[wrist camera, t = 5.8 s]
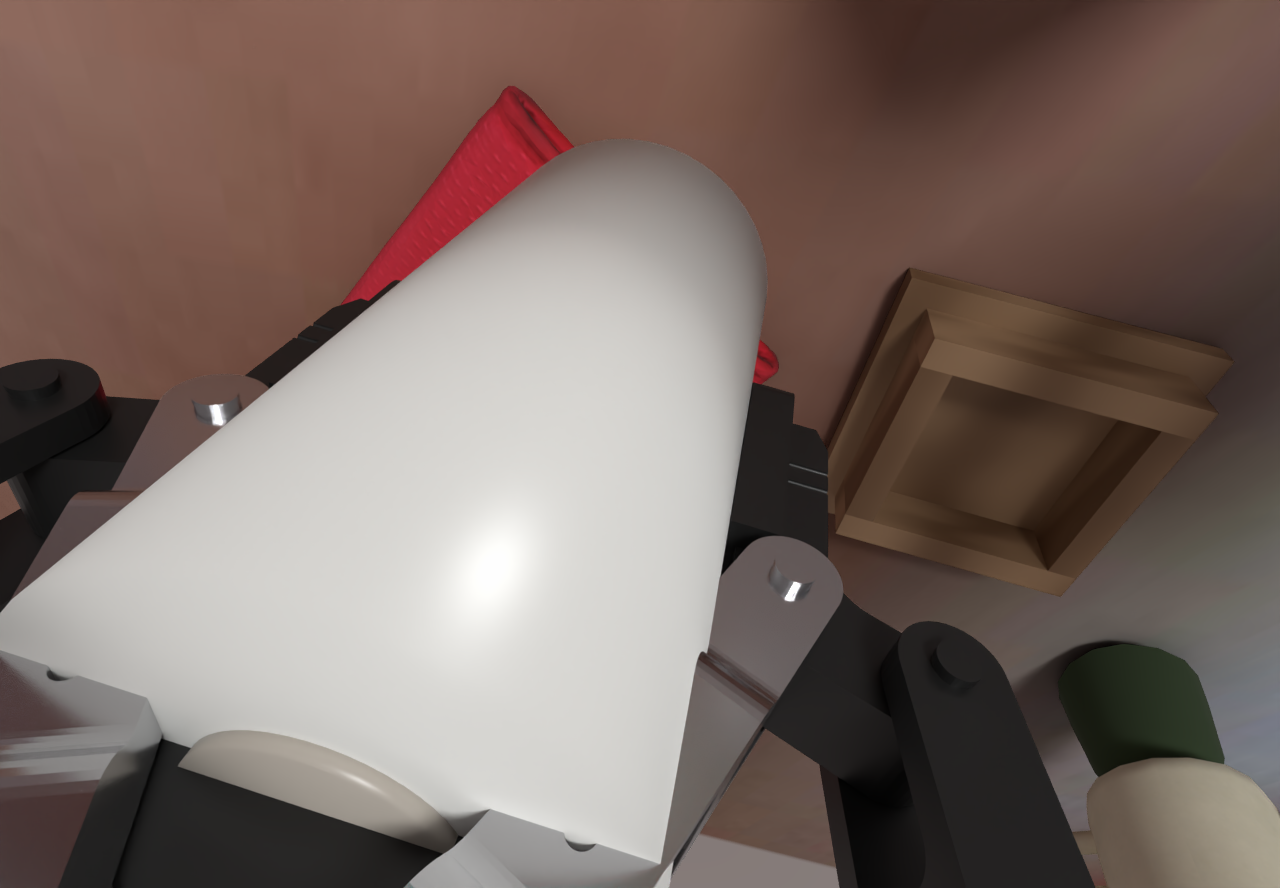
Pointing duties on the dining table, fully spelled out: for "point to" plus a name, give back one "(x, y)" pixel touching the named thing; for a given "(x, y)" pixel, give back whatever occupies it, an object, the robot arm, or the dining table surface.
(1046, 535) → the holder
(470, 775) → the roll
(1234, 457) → the dining table surface
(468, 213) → the red folded cloth
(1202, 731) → the character mug
